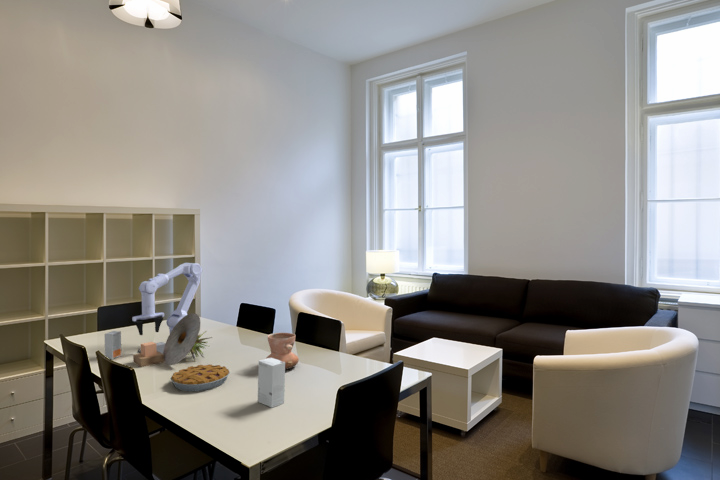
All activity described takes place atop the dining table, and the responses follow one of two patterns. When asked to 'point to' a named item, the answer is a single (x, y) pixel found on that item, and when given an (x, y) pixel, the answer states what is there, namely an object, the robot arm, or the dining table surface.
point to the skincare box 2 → (271, 382)
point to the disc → (184, 340)
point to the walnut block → (148, 359)
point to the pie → (200, 377)
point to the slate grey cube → (160, 347)
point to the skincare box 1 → (113, 344)
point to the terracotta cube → (148, 349)
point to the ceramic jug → (283, 348)
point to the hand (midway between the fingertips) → (149, 333)
